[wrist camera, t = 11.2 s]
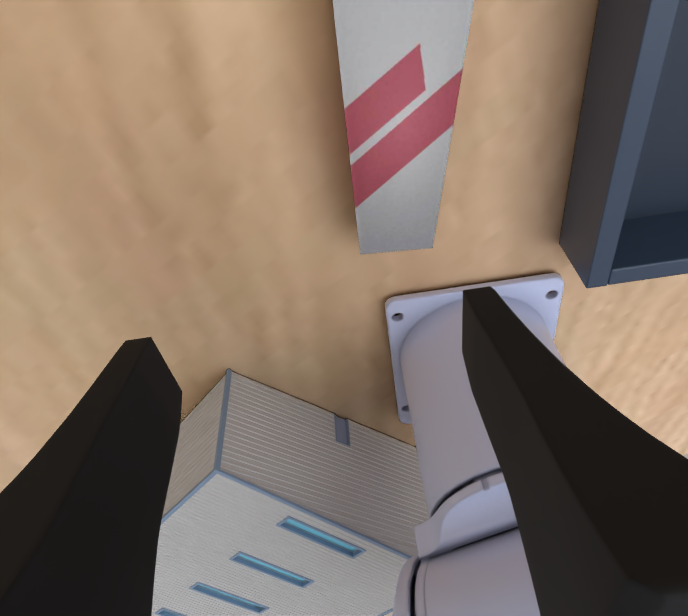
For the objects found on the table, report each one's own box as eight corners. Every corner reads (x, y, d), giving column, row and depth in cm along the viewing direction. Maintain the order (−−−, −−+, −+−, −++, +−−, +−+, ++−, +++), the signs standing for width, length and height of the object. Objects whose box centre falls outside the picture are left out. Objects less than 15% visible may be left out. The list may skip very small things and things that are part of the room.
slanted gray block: (228, 368, 27) (209, 512, 21) (431, 452, 33) (458, 579, 28) (38, 576, 42) (-2, 692, 36) (203, 606, 48) (190, 708, 43)
